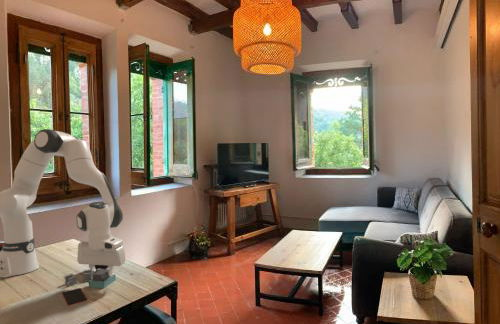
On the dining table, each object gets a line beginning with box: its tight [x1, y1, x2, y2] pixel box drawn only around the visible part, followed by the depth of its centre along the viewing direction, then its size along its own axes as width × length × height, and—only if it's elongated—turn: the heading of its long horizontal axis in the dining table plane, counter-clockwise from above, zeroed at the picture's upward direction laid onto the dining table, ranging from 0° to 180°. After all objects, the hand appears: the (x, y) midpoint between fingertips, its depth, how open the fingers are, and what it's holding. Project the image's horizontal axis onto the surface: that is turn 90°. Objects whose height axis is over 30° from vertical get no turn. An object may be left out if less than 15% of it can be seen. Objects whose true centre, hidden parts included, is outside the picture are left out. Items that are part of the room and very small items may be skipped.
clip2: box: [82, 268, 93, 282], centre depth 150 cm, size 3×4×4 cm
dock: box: [88, 273, 117, 289], centre depth 145 cm, size 7×8×2 cm
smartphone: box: [61, 287, 88, 307], centre depth 134 cm, size 7×1×14 cm
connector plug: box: [92, 268, 114, 281], centre depth 147 cm, size 4×10×4 cm, turn 168°
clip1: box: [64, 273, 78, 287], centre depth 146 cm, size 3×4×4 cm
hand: (102, 274), depth 145 cm, fingers open, 5 cm apart
